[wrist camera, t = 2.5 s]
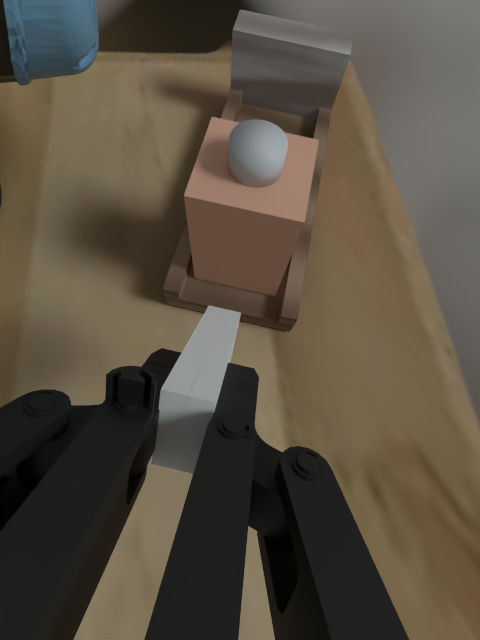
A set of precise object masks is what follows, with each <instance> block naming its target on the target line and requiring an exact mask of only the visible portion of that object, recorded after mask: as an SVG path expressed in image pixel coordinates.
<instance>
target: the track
mask: <svg viewBox="0 0 480 640" xmlns="http://www.w3.org/2000/svg"><path fill="white" fill-rule="evenodd" d="M352 41H353V33H348V32H343V31H338V30H334V29H329V28H325V27H320V26H315V25H311V24H306V23H301V22H297V21H291V20H286V19H282V18H278V17H273V16H268V15H263V14H259V13H254V12H250V11H245V10H240V12H239V15H238V17H237V20H236V23H235V25H234V28H233V39H232V65H231V89H230V92H229V95H228V98H227V101H226V104H225V107H224V109H223V112H222V115H221V119H225V120H230V121H235V122H239V123H241V122H244V121H247V120H255V119H257V120H265V121H268V122H271V123H273V124H275V125H277V126H278V127H280V128H281V129H282V130H283V131H284V132H285V133H289V134H294V135H299V136H303V137H308V138H312V139H317V140H319V143H318V149H317V154H316V160H315V166H314V172H313V177H312V183H311V189H310V195H309V200H308V206H307V212H306V218H305V223H304V225H303V228H302V230H301V233H300V235H299V238H298V240H297V243H296V245H295V248H294V250H293V253H292V255H291V258H290V260H289V263H288V265H287V268H286V270H285V273H284V275H283V278H282V280H281V283H280V285H279V288H278V290H277V293H276V295H275V296H272V295H267V294H263V293H258V292H254V291H250V290H245V289H241V288H236V287H232V286H227V285H223V284H218V283H214V282H210V281H205V280H201V279H196V278H195V276H194V269H193V261H192V254H191V246H190V239H189V231H188V224H187V218H186V221H185V224H184V227H183V230H182V233H181V236H180V239H179V242H178V245H177V248H176V250H175V253H174V256H173V259H172V262H171V265H170V268H169V271H168V274H167V277H166V280H165V283H164V286H163V289H162V290H163V293H164V296H165V298H166V301H167V304H169V305H173V306H178V307H182V308H187V309H191V310H195V311H200V312H204V313H205V311H206V309H207V308H208V306H209V305H210V306H214V307H218V308H223V309H227V310H232V311H236V312H240V313H241V316H240V320H239V321H244V322H248V323H253V324H257V325H262V326H266V327H270V328H275V329H279V330H284V331H288V332H290V330H291V329H292V327H293V326H294V324H295V323H296V321H297V318H298V312H299V306H300V300H301V294H302V288H303V281H304V275H305V269H306V263H307V257H308V251H309V245H310V238H311V232H312V226H313V220H314V214H315V208H316V201H317V195H318V189H319V183H320V177H321V171H322V164H323V158H324V152H325V146H326V140H327V134H328V128H329V121H330V115H331V110H332V107H333V104H334V101H335V98H336V95H337V92H338V90H339V87H340V84H341V81H342V78H343V75H344V72H345V69H346V66H347V63H348V61H349V58H350V54H351V47H352Z"/></svg>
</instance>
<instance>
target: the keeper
mask: <svg viewBox="0 0 480 640" xmlns="http://www.w3.org/2000/svg"><path fill="white" fill-rule="evenodd" d="M318 143H319V140H317V139H312V138H308V137H303V136H299V135H294V134H289V133H285V132H284V131H283V130H282V129H281V128H280V127H278V126H277V125H275V124H273V123H271V122H268V121H265V120H257V119H255V120H247V121H244V122H241V123H239V122H235V121H230V120H225V119H221V118H216V117H211V120H210V123H209V126H208V129H207V132H206V134H205V137H204V140H203V143H202V146H201V148H200V151H199V154H198V157H197V160H196V163H195V165H194V168H193V171H192V174H191V177H190V179H189V182H188V185H187V188H186V191H185V193H184V202H185V209H186V217H187V224H188V231H189V239H190V246H191V254H192V261H193V269H194V276H195V278H196V279H201V280H205V281H210V282H214V283H218V284H223V285H227V286H232V287H236V288H241V289H245V290H250V291H254V292H258V293H263V294H267V295H272V296H275V295H276V293H277V290H278V288H279V285H280V283H281V280H282V278H283V275H284V273H285V270H286V268H287V265H288V263H289V260H290V258H291V255H292V253H293V250H294V248H295V245H296V243H297V240H298V238H299V235H300V233H301V230H302V228H303V225H304V223H305V218H306V212H307V206H308V200H309V195H310V189H311V183H312V177H313V172H314V166H315V160H316V154H317V149H318Z"/></svg>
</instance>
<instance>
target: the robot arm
mask: <svg viewBox="0 0 480 640" xmlns="http://www.w3.org/2000/svg"><path fill="white" fill-rule="evenodd" d="M98 43H99V38H98V25H97V15H96V7H95V0H0V83H6V82H18V84H19V85H28V84H29V83H30V82H31V80H35V79H42V78H50V77H58V76H66V75H74V74H79V73H82V72H84V71H85V70H87V69H88V68H89V67H90V66H91V65H92V63H93V62H94V60H95V58H96V55H97V51H98ZM1 197H2V196H1V186H0V206H1ZM240 316H241V313H240V312H236V311H232V310H227V309H223V308H218V307H214V306H210V305H209V306H208V308H207V309H206V311H205V313H204V315H203V316H202V318H201V320H200V322H199V323H198V325H197V327H196V329H195V330H194V332H193V334H192V336H191V337H190V339H189V341H188V343H187V344H186V346H185V348H184V350H183V351H182V353H180V352H176V351H172V350H167V349H163V348H161V349H159V350H158V351H156V352H154V353H152V354H151V355H150V356H149V358H148V359H147V360H146V363H144V364H143V366H142V367H137V366H124V367H119V368H116V369H113V370H112V371H110V372H109V373H108V374H106V398H105V401H104V402H103V403H102V404H100V405H90V406H71V401H70V399H69V396H67V395H66V394H65V393H63V392H61V391H57V390H38V391H33V392H30V393H27V394H25V395H23V396H20V397H19V398H17V399H15V400H13V401H12V402H10V403H8V404H6V405H5V406H3V407H1V408H0V640H73V639H74V637H75V635H76V632H77V630H78V628H79V626H80V624H81V621H82V619H83V617H84V615H85V612H86V610H87V608H88V606H89V603H90V601H91V599H92V597H93V594H94V592H95V590H96V588H97V586H98V583H99V581H100V579H101V577H102V574H103V572H104V570H105V568H106V565H107V563H108V561H109V559H110V556H111V554H112V552H113V550H114V547H115V545H116V543H117V541H118V539H119V536H120V534H121V532H122V530H123V527H124V525H125V523H126V521H127V518H128V516H129V514H130V512H131V509H132V507H133V505H134V503H135V501H136V498H137V496H138V494H139V492H140V489H141V487H142V485H143V483H144V480H145V477H146V471H147V464H148V462H149V460H150V458H151V456H152V454H153V457H152V464H156V465H160V466H164V467H168V468H172V469H177V470H181V471H185V472H189V473H193V477H192V480H191V484H190V487H189V490H188V494H187V497H186V501H185V504H184V507H183V511H182V514H181V518H180V521H179V524H178V528H177V531H176V534H175V538H174V541H173V545H172V548H171V551H170V555H169V558H168V562H167V565H166V568H165V572H164V575H163V579H162V582H161V585H160V589H159V592H158V596H157V599H156V602H155V606H154V609H153V613H152V616H151V619H150V623H149V626H148V629H147V633H146V636H145V640H238V635H239V623H240V612H241V601H242V589H243V578H244V567H245V555H246V544H247V533H248V526H250V527H251V528H253V529H255V530H256V531H257V536H258V542H259V548H260V554H261V560H262V565H263V571H264V577H265V583H266V589H267V595H268V600H269V606H270V612H271V618H272V624H273V630H274V636H275V640H409V638H408V636H407V634H406V632H405V630H404V628H403V625H402V623H401V621H400V619H399V617H398V614H397V612H396V610H395V608H394V606H393V603H392V601H391V599H390V597H389V595H388V592H387V590H386V588H385V586H384V584H383V581H382V579H381V577H380V575H379V573H378V570H377V568H376V566H375V564H374V562H373V559H372V557H371V555H370V553H369V551H368V548H367V546H366V544H365V542H364V540H363V537H362V535H361V533H360V531H359V529H358V526H357V524H356V522H355V520H354V518H353V515H352V513H351V511H350V509H349V507H348V504H347V502H346V500H345V498H344V496H343V493H342V491H341V489H340V487H339V485H338V482H337V480H336V478H335V476H334V474H333V471H332V469H331V467H330V466H329V464H328V463H327V461H326V460H325V459H324V458H323V457H322V456H321V455H319V454H318V453H317V452H315V451H313V450H311V449H309V448H305V447H300V446H296V447H290V448H288V449H287V450H285V451H284V452H283V453H282V452H280V451H279V450H277V449H275V448H273V447H271V446H270V445H268V444H266V443H265V442H264V441H263V440H262V439H261V438H260V437H259V435H258V434H257V432H256V429H255V412H256V402H257V391H258V381H259V377H258V375H257V373H256V371H255V369H254V368H250V367H245V366H241V365H237V364H232V363H230V362H231V357H232V352H233V348H234V343H235V339H236V334H237V329H238V325H239V320H240Z"/></svg>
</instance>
